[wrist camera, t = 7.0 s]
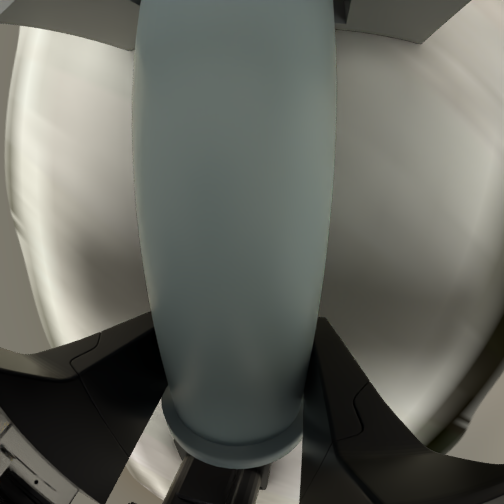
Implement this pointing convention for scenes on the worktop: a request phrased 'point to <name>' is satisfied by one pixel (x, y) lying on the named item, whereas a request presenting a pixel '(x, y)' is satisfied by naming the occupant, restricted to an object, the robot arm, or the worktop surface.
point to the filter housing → (128, 3)
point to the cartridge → (234, 212)
